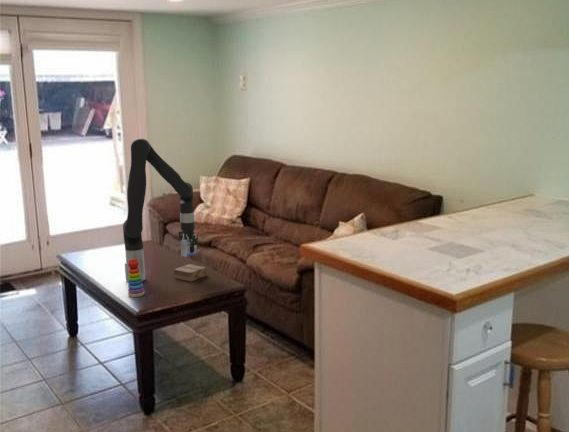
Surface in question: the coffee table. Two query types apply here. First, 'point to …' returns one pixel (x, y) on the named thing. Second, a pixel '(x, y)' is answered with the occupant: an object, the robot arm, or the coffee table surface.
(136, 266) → the stacking toy
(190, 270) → the tan square block
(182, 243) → the medicine box
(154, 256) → the coffee table surface
